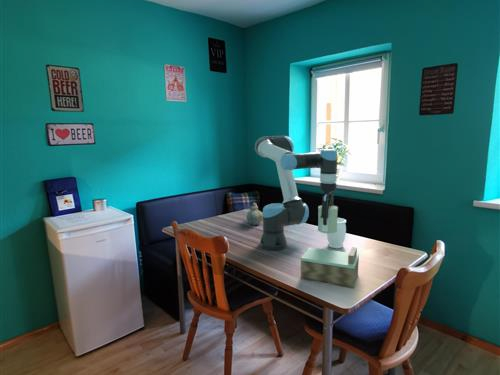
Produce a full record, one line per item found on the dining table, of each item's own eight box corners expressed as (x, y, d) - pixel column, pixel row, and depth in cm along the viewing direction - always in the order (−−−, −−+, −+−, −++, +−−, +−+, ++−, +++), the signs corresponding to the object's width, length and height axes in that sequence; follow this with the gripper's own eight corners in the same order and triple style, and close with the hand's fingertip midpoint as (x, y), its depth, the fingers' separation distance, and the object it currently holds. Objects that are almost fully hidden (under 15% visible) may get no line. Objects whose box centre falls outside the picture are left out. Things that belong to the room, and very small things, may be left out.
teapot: (263, 228, 210) (263, 206, 208) (246, 228, 210) (245, 206, 208) (262, 219, 231) (262, 199, 229) (247, 219, 231) (246, 199, 229)
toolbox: (300, 278, 137) (300, 261, 136) (309, 266, 150) (309, 250, 148) (353, 288, 128) (354, 269, 126) (358, 274, 140) (358, 257, 139)
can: (315, 228, 156) (315, 204, 154) (333, 227, 157) (334, 203, 155) (321, 233, 147) (321, 208, 145) (340, 232, 148) (340, 208, 146)
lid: (300, 260, 136) (301, 250, 135) (309, 249, 148) (309, 239, 147) (354, 269, 126) (354, 258, 125) (358, 256, 139) (359, 246, 138)
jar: (346, 249, 169) (347, 222, 166) (326, 248, 171) (327, 222, 169) (344, 243, 179) (345, 217, 177) (325, 242, 181) (326, 216, 179)
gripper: (331, 186, 137) (330, 236, 141) (340, 179, 156) (339, 223, 160) (314, 185, 140) (313, 234, 144) (325, 178, 159) (324, 221, 163)
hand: (327, 228), depth 152 cm, fingers closed on can, 9 cm apart
